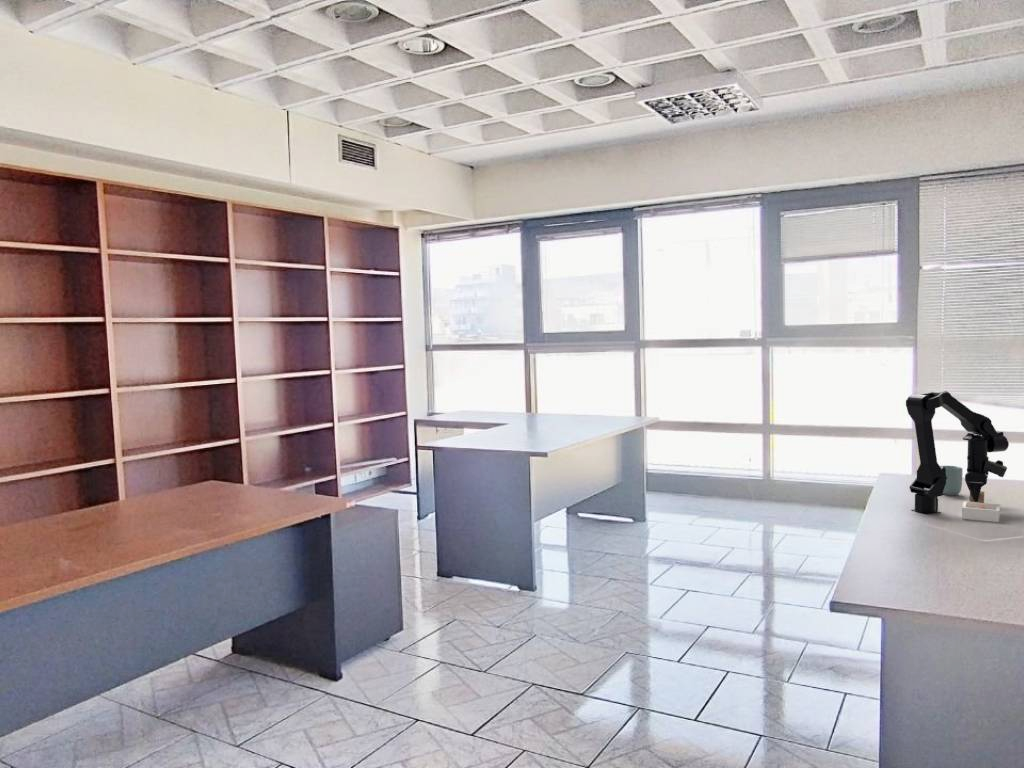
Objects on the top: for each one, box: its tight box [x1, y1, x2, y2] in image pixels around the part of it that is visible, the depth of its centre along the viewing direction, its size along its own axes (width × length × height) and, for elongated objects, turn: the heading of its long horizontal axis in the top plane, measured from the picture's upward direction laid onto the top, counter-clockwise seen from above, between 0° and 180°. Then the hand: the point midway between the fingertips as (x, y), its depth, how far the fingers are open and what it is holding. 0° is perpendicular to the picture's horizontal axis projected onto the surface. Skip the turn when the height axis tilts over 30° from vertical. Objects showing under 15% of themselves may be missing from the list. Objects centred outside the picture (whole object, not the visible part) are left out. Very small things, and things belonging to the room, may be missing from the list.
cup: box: [940, 465, 963, 496], centre depth 286 cm, size 8×8×10 cm
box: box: [961, 501, 1001, 523], centre depth 250 cm, size 10×10×4 cm
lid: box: [969, 491, 985, 503], centre depth 264 cm, size 10×10×6 cm
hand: (976, 499), depth 264 cm, fingers open, 9 cm apart
